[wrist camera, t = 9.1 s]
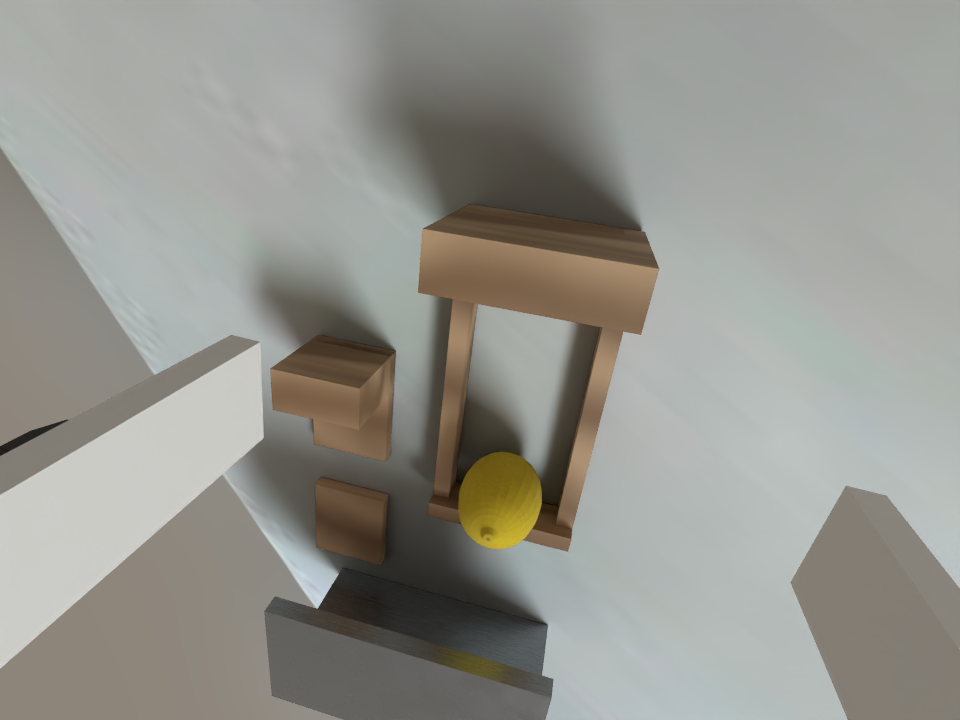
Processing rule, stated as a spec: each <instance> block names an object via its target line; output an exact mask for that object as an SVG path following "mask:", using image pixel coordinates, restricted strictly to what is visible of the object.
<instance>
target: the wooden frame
mask: <svg viewBox="0 0 960 720" xmlns="http://www.w3.org/2000/svg"><path fill="white" fill-rule="evenodd" d="M658 271H659V267H658V265H657V262H656V260H655V257H654V254H653V252H652V249H651V247H650V244H649V241H648V239H647V236H646V234H645V232H642V231H636V230H630V229H624V228H617V227H611V226H605V225H599V224H592V223H586V222H580V221H573V220H567V219H561V218H555V217H548V216H542V215H536V214H529V213H523V212H517V211H511V210H504V209H498V208H492V207H485V206H479V205H473V204H469V205H467V206H466V207H464V208H462V209H460V210H458V211H456V212H454V213H452V214H450V215H448V216H446V217H444V218H443V219H441V220H439V221H437V222H435V223H433V224H431V225H429V226H427V227H425V228H423V230H422V244H421V258H420V273H419V287H418V293H423V294H428V295H434V296H439V297H444V298H449V299H453V302H452V312H451V321H450V331H449V341H448V351H447V361H446V371H445V381H444V391H443V401H442V411H441V421H440V431H439V440H438V450H437V460H436V470H435V480H434V490H433V495H432V497H431V500H430V502H429V507H428V516H432V517H436V518H439V519H443V520H447V521H451V522H455V523H459V524H461V521H460V517H459V511H458V504H459V492H460V488H461V485H462V483H459V482H456V475H457V467H458V458H459V450H460V442H461V434H462V426H463V418H464V410H465V402H466V393H467V385H468V377H469V369H470V361H471V353H472V345H473V337H474V329H475V320H476V312H477V304H481V305H486V306H492V307H497V308H502V309H508V310H513V311H518V312H523V313H529V314H534V315H539V316H545V317H550V318H555V319H560V320H566V321H571V322H576V323H582V324H587V325H592V326H597V327H600V331H599V335H598V339H597V343H596V348H595V352H594V356H593V360H592V364H591V369H590V373H589V377H588V381H587V386H586V390H585V394H584V398H583V402H582V407H581V411H580V415H579V419H578V424H577V428H576V432H575V436H574V440H573V445H572V449H571V453H570V457H569V462H568V466H567V470H566V474H565V478H564V483H563V487H562V491H561V495H560V500H559V504H558V507H557V506H553V505H549V504H545V503H542V504H541V509H540V512H539V515H538V518H537V521H536V523H535V525H534V526H533V528H532V529H531V531H530V532H529V534H528V535H527V536H526V537H525V538H524V539H523V540H525V541H529V542H533V543H536V544H540V545H544V546H548V547H552V548H556V549H560V550H564V551H567V552H568V549H569V546H570V542H571V536H572V527H573V524H574V520H575V516H576V512H577V508H578V504H579V500H580V496H581V493H582V489H583V485H584V481H585V477H586V473H587V469H588V466H589V462H590V458H591V454H592V450H593V446H594V442H595V438H596V435H597V431H598V427H599V423H600V419H601V415H602V411H603V407H604V404H605V400H606V396H607V392H608V388H609V384H610V380H611V377H612V373H613V369H614V365H615V361H616V357H617V353H618V349H619V346H620V342H621V338H622V334H623V331H624V332H629V333H634V334H640V335H641V333H642V329H643V326H644V322H645V318H646V315H647V311H648V307H649V304H650V300H651V297H652V293H653V289H654V286H655V282H656V278H657V275H658Z"/></svg>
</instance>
